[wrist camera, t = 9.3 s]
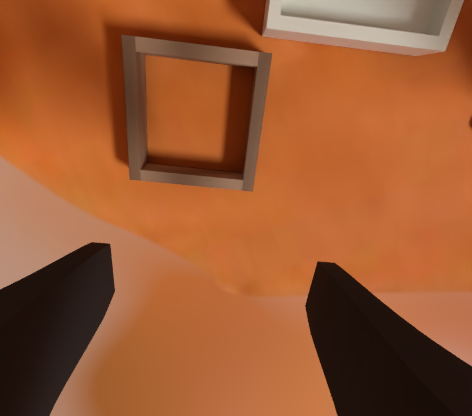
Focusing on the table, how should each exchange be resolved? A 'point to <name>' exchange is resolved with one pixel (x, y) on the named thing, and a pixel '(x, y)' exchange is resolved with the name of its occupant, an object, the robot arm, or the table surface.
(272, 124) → the table surface
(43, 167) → the table surface
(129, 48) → the walnut collar
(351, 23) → the beige shallow square tray
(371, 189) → the table surface
